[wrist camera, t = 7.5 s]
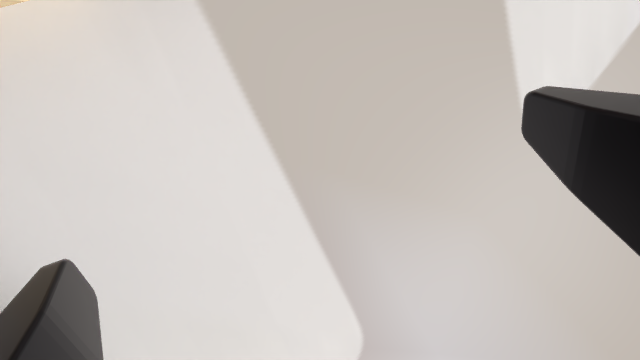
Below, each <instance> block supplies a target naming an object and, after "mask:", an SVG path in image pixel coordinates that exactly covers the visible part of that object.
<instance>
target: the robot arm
mask: <svg viewBox="0 0 640 360" xmlns="http://www.w3.org/2000/svg"><path fill="white" fill-rule="evenodd" d="M522 134H523V136H524V138H525V140H526V141H527V142H528V144H529V145H530V146H531V147H532V148H533V149H534V151H535V152H536V153H537V154H538V155H539V156H540V157H541V158H542V160H543V161H544V162H545V163H546V164H547V165H548V166H549V168H550V169H551V170H552V171H553V172H554V173H555V175H556V176H557V177H558V178H559V179H560V180H561V182H562V183H563V184H564V185H565V186H566V187H567V188H568V189H569V190H570V191H571V192H572V193H573V194H574V195H575V196H576V197H577V198H578V199H579V200H580V201H581V202H582V203H583V204H584V205H585V206H586V207H587V208H588V209H589V210H590V211H592V212H593V213H594V214H595V215H596V216H597V217H598V218H599V219H600V220H601V221H602V222H603V223H605V224H606V225H607V226H608V227H609V228H610V229H611V230H612V231H613V232H614V233H615V234H616V235H617V236H618V237H619V238H621V239H622V240H623V241H624V242H625V243H626V244H627V245H628V246H629V247H630V248H631V249H632V250H633V251H634V252H636V253H637V254H638V255H639V256H640V95H638V94H627V93H616V92H604V91H594V90H584V89H573V88H562V87H551V86H546V87H542V88H539V89H536V90H534V91H531V92H529V93H528V94H527V95H526V96H525V98H524V104H523V116H522ZM0 360H103V351H102V341H101V331H100V321H99V311H98V302H97V297H96V294H95V292H94V290H93V288H92V287H91V286H90V284H89V283H88V282H87V280H86V279H85V278H84V276H83V275H82V274H81V272H80V271H79V270H78V268H77V267H76V266H75V264H74V263H73V262H71V261H70V260H67V259H63V260H60V261H57V262H54V263H51V264H49V265H46V266H43V267H42V268H40V269H39V271H38V272H37V273H36V274H35V275H34V276H33V277H32V278H31V280H30V281H29V282H28V283H27V284H26V285H25V286H24V287H23V289H22V290H21V291H20V292H19V293H18V294H17V295H16V296H15V298H14V299H13V300H12V301H11V302H10V303H9V304H8V306H7V307H6V308H5V309H4V310H3V311H2V312H1V313H0Z"/></svg>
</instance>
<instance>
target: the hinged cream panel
mask: <svg viewBox="0 0 640 360" xmlns="http://www.w3.org/2000/svg"><path fill="white" fill-rule="evenodd" d="M25 1H29V0H0V8H1V7H5V6H9V5H13V4H17V3H21V2H25Z"/></svg>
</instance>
